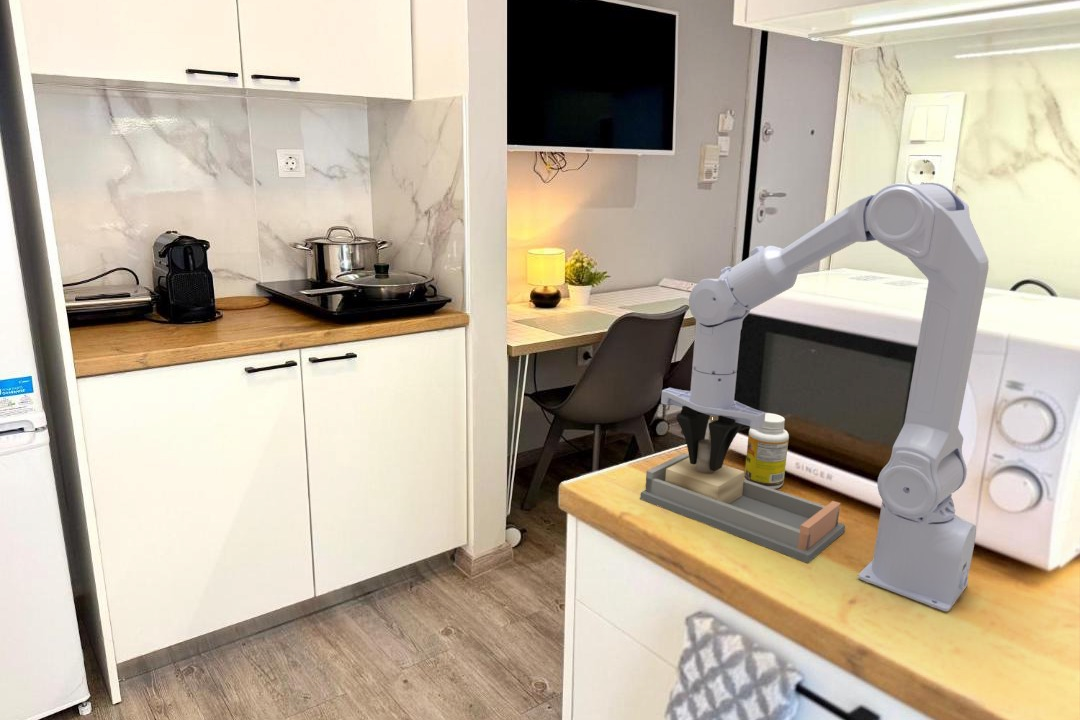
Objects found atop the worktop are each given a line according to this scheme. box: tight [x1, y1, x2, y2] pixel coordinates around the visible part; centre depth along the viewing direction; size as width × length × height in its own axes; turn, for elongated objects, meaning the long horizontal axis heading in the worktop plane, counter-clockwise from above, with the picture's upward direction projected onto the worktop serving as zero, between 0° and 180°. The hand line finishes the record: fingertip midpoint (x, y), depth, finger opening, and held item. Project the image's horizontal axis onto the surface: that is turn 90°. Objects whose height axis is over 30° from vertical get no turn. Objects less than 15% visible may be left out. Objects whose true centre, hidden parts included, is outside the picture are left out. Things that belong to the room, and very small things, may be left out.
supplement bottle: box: [744, 412, 790, 490], centre depth 109 cm, size 6×6×10 cm
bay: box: [639, 452, 846, 564], centre depth 100 cm, size 24×11×4 cm, turn 47°
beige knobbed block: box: [665, 439, 745, 504], centre depth 103 cm, size 8×7×8 cm
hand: (705, 465), depth 103 cm, fingers closed on beige knobbed block, 2 cm apart
